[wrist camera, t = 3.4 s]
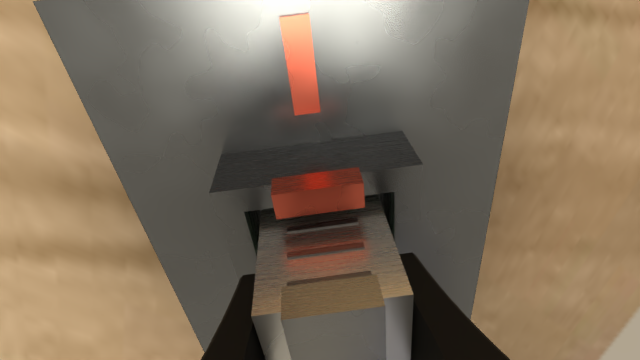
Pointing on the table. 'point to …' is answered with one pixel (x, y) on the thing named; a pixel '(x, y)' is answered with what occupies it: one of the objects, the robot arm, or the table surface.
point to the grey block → (331, 287)
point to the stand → (296, 123)
